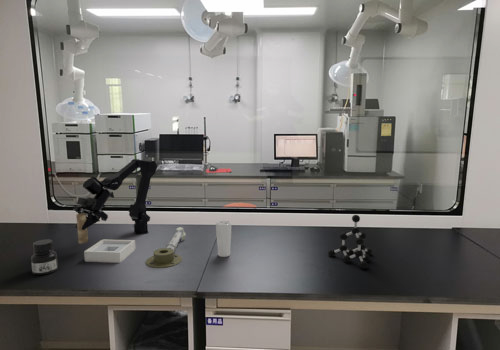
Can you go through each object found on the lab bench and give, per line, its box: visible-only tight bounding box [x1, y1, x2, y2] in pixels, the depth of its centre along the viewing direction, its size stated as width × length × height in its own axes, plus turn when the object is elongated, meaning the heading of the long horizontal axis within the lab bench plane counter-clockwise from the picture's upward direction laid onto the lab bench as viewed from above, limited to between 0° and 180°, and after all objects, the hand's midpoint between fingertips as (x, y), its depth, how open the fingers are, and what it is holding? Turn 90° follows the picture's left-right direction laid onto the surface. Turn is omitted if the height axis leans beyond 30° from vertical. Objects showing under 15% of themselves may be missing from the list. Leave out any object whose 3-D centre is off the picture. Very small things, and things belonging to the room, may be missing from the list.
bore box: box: [83, 239, 136, 264], centre depth 155 cm, size 16×16×4 cm
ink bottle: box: [30, 238, 59, 276], centre depth 138 cm, size 10×9×12 cm
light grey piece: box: [165, 226, 187, 253], centre depth 166 cm, size 5×7×25 cm
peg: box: [76, 213, 89, 245], centre depth 158 cm, size 4×4×13 cm
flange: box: [145, 247, 183, 269], centre depth 149 cm, size 5×15×15 cm
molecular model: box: [327, 214, 373, 270], centre depth 150 cm, size 18×20×20 cm
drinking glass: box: [215, 220, 232, 258], centre depth 154 cm, size 7×7×15 cm
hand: (79, 228), depth 157 cm, fingers closed on peg, 4 cm apart
